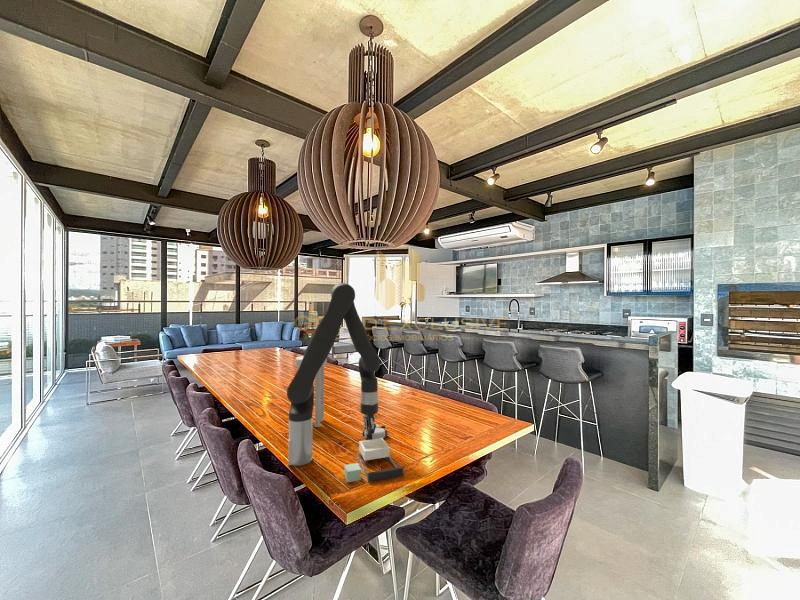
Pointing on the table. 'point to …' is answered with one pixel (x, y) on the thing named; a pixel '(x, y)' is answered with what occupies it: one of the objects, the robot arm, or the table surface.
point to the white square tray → (374, 449)
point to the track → (382, 472)
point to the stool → (317, 391)
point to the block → (352, 472)
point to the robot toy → (377, 432)
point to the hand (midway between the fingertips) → (369, 441)
